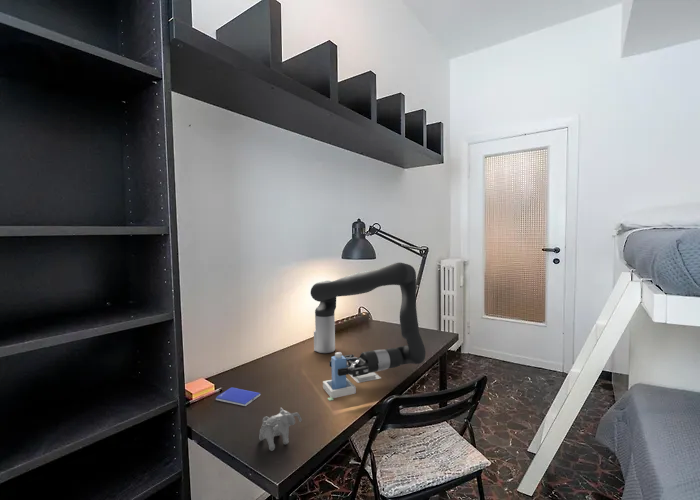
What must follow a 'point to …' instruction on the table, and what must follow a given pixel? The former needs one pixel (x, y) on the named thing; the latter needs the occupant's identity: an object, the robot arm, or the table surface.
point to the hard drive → (238, 396)
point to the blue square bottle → (337, 363)
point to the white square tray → (366, 377)
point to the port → (340, 392)
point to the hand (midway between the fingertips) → (333, 368)
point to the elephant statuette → (277, 427)
